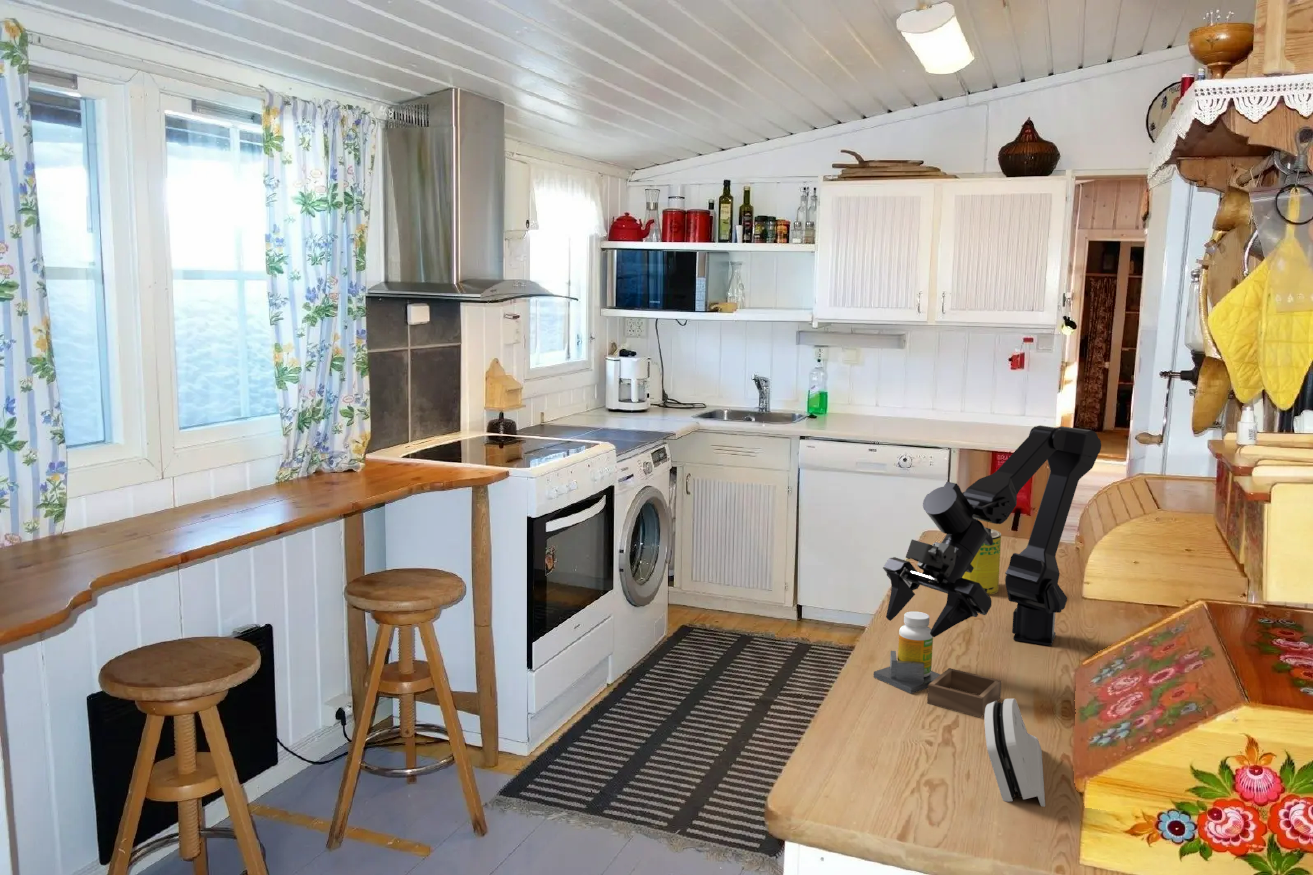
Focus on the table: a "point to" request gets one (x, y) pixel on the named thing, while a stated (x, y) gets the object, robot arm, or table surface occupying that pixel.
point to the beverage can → (987, 565)
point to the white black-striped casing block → (1013, 752)
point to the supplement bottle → (916, 640)
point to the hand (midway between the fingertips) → (909, 627)
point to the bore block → (960, 700)
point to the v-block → (905, 675)
